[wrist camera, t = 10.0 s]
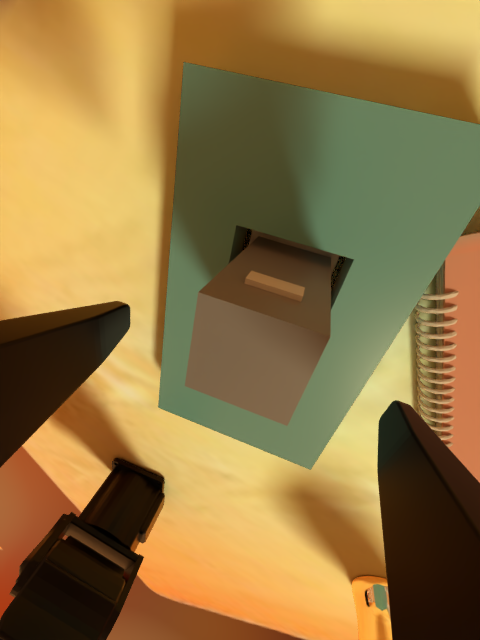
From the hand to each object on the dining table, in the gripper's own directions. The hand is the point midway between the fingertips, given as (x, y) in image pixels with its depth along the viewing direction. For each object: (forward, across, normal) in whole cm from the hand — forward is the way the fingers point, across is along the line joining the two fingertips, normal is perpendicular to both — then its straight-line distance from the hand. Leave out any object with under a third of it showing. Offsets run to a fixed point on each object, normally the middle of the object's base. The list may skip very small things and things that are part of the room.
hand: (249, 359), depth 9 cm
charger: (+8, 0, 0) cm, 8 cm away
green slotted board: (+8, 0, +2) cm, 8 cm away
